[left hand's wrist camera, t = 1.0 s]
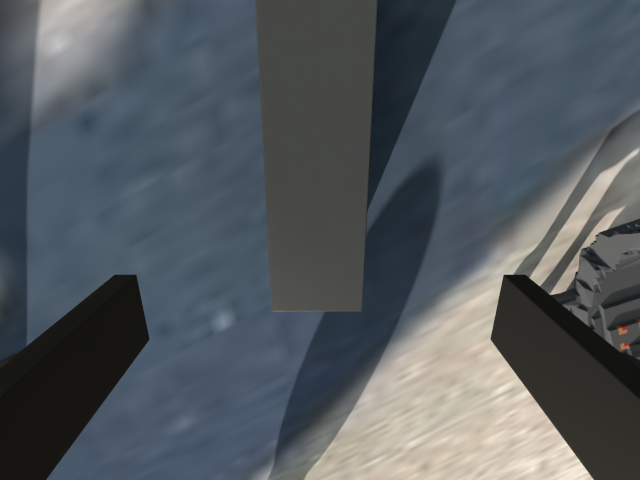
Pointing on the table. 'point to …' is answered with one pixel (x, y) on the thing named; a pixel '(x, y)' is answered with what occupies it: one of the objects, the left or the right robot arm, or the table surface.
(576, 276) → the toy
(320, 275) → the bar
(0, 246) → the table surface
